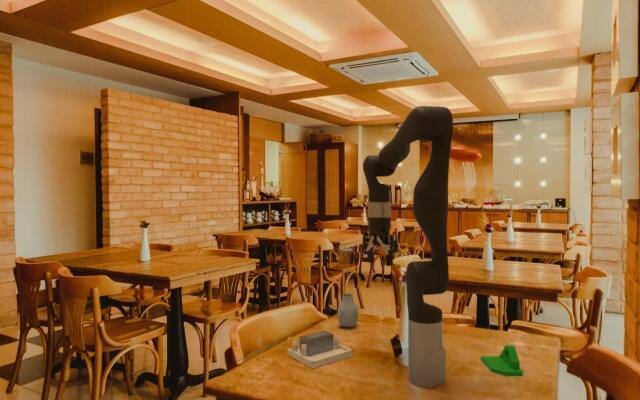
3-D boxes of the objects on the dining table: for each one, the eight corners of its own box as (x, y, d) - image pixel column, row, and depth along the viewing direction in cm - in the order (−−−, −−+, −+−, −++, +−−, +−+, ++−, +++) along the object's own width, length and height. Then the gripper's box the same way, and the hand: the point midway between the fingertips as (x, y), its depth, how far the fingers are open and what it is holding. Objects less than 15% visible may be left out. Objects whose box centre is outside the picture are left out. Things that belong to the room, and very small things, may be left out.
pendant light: (333, 325, 175) (332, 248, 174) (352, 322, 179) (351, 247, 178) (343, 331, 168) (342, 251, 167) (362, 328, 171) (361, 249, 170)
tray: (353, 356, 143) (353, 340, 143) (312, 368, 134) (312, 352, 134) (326, 343, 155) (326, 329, 154) (287, 354, 145) (287, 339, 145)
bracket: (480, 360, 139) (480, 338, 139) (505, 360, 139) (505, 338, 139) (495, 377, 127) (495, 353, 127) (522, 377, 127) (522, 353, 127)
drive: (333, 349, 147) (333, 333, 146) (308, 356, 141) (308, 340, 141) (324, 345, 151) (324, 330, 150) (299, 351, 145) (299, 336, 145)
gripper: (403, 216, 146) (403, 265, 146) (372, 214, 157) (373, 260, 158) (386, 217, 141) (387, 268, 142) (356, 215, 153) (357, 262, 153)
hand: (379, 264), depth 150 cm, fingers open, 8 cm apart
